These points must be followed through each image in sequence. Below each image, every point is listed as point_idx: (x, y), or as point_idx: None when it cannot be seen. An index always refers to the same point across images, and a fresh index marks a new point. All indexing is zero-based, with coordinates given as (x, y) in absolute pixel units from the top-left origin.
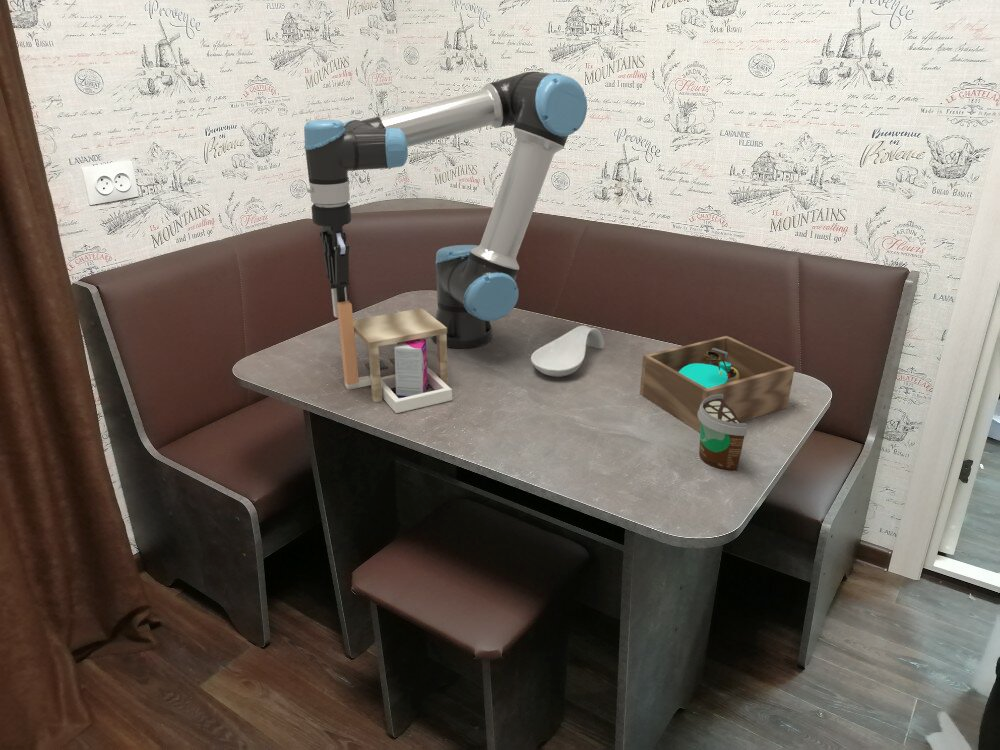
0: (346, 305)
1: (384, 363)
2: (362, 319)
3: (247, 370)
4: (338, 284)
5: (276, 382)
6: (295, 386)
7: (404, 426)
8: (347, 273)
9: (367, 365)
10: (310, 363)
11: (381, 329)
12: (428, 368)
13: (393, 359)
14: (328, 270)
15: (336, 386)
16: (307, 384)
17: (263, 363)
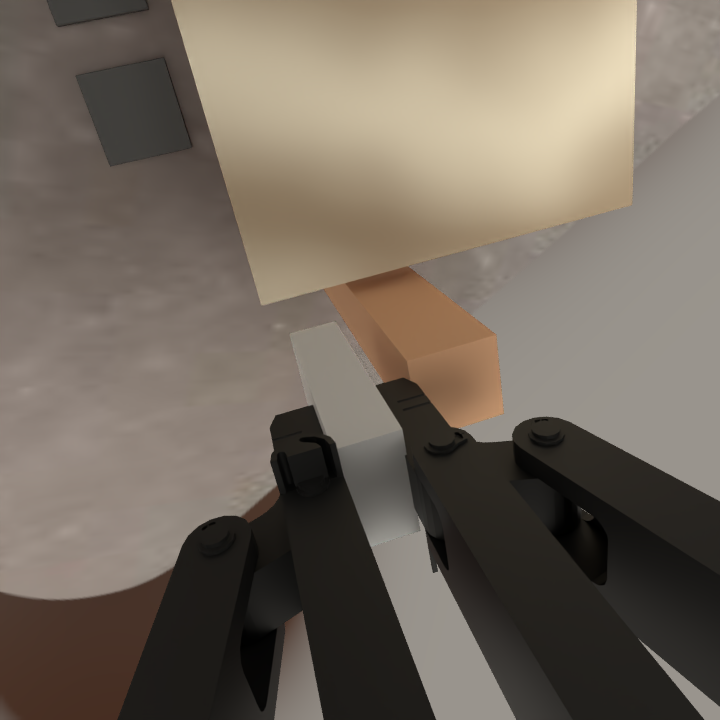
0: (499, 371)
1: (119, 67)
2: (255, 210)
3: (104, 579)
4: (586, 520)
5: (223, 484)
6: (269, 426)
7: (662, 89)
8: (707, 508)
9: (133, 157)
10: (60, 392)
11: (474, 99)
12: None
13: (68, 5)
14: (273, 691)
15: (303, 295)
16: (262, 391)
17: (43, 545)
